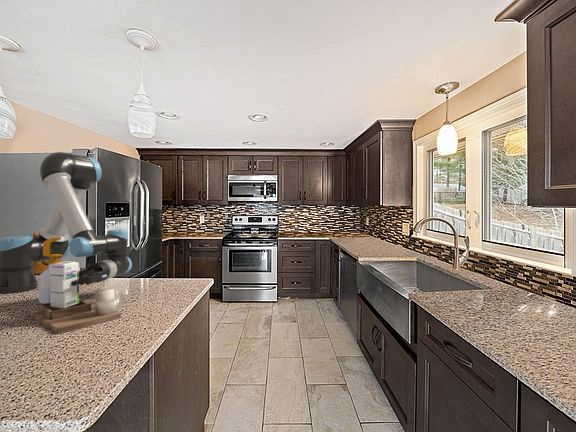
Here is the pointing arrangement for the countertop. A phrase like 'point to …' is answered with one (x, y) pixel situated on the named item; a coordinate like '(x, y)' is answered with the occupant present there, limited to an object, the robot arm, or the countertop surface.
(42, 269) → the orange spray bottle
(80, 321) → the caddy
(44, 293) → the soap bottle
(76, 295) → the syrup box
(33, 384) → the countertop surface
